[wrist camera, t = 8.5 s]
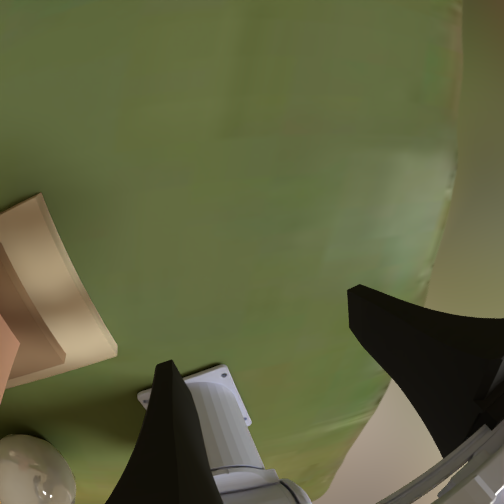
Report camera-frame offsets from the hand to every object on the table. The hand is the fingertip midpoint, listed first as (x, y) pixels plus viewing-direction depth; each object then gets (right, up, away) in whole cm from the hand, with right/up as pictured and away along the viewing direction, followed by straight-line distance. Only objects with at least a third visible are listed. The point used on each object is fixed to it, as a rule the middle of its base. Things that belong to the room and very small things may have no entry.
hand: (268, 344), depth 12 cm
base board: (-19, -1, +5) cm, 20 cm away
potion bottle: (-26, -16, +10) cm, 32 cm away
